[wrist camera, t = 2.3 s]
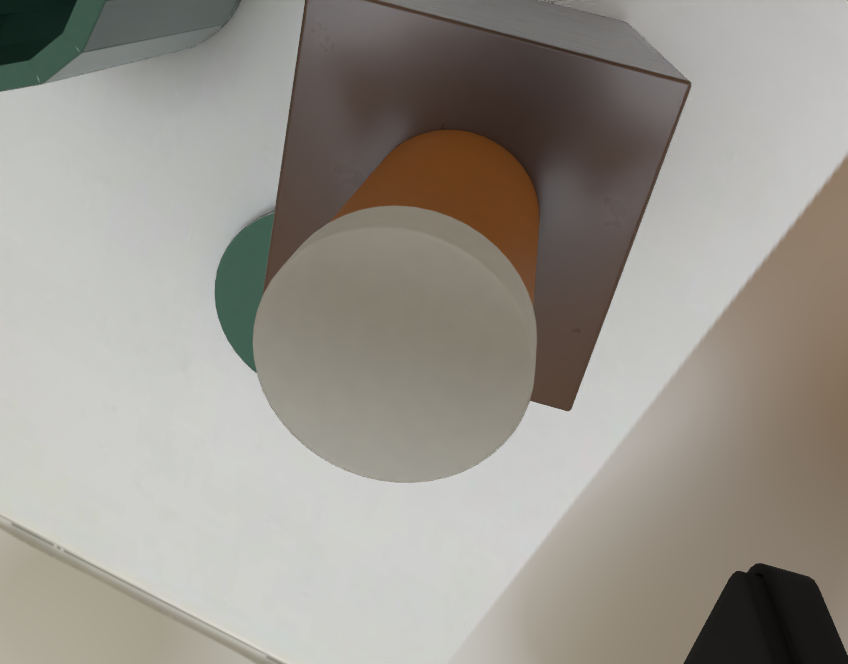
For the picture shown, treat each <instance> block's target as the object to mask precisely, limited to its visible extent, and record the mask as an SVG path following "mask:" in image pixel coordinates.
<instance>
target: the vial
mask: <svg viewBox="0 0 848 664" xmlns="http://www.w3.org/2000/svg"><path fill="white" fill-rule="evenodd" d="M539 221H540V218H539V205H538V200H537V195H536V192H535V189H534V186H533V184H532V182H531V180H530V178H529V176H528V174H527V173H526V171H525V170H524V168H523V167H522V165H521V164H520V163H519V162H518V161H517V159H516V158H515V157H514V156H513V155H512V154H511V153H509V152H508V151H507V150H506V149H505V148H503V147H502V146H500V145H499V144H497V143H496V142H494V141H492V140H490V139H488V138H486V137H484V136H481V135H478V134H475V133H472V132H467V131H462V130H437V131H432V132H427V133H423V134H421V135H418V136H415V137H413V138H411V139H409V140H407V141H405V142H403V143H402V144H401V145H399V146H398V147H396V148H395V149H394V150H393V151H392V152H391V153H389V154H388V155H387V156H386V157H385V159H384V160H383V161H382V162H381V163H380V164H379V165H378V167H377V168H376V169H375V170H374V171H373V172H372V174H371V175H370V176H369V177H368V178H367V179H366V180H365V182H364V183H363V184H362V185H361V186H360V187H359V188H358V190H357V191H356V192H355V193H354V194H353V195H352V197H351V198H350V199H349V200H348V201H347V202H346V203H345V205H344V206H343V207H342V208H341V209H340V210H339V212H338V213H337V214H336V215H335V216H334V217H333V218H332V220H331V221H330V222H329V223H328V224H326V225H325V226H323V227H322V228H320V229H319V230H317V231H316V232H315V233H313V234H312V235H311V236H310V237H309V238H308V239H307V240H306V241H305V242H304V243H303V244H302V245H301V246H300V247H299V248H298V249H297V250H296V252H295V253H294V254H293V255H292V256H291V257H290V258H289V259H288V260H287V262H286V263H285V264H284V265H283V266H282V267H281V268H280V270H279V271H278V272H277V274H276V275H275V276H274V277H273V279H272V280H271V282H270V283H269V285H268V287H267V289H266V290H265V292H264V294H263V296H262V299H261V302H260V304H259V307H258V309H257V314H256V318H255V323H254V331H253V352H254V361H255V366H256V371H257V376H258V378H259V381H260V384H261V387H262V390H263V392H264V394H265V396H266V398H267V400H268V402H269V404H270V406H271V407H272V409H273V410H274V412H275V413H276V415H277V416H278V418H279V420H280V421H281V422H282V423H283V424H284V425H285V427H286V428H287V429H288V430H289V431H290V433H291V434H292V435H294V436H295V437H296V438H297V439H298V440H299V441H300V442H301V443H302V444H303V445H304V446H306V447H307V448H308V449H310V450H311V451H312V452H314V453H315V454H316V455H318V456H320V457H321V458H323V459H325V460H326V461H328V462H330V463H331V464H333V465H335V466H338V467H340V468H342V469H344V470H346V471H349V472H352V473H354V474H357V475H360V476H363V477H368V478H372V479H376V480H381V481H389V482H406V483H415V482H425V481H432V480H437V479H441V478H446V477H449V476H452V475H455V474H458V473H461V472H463V471H465V470H467V469H469V468H471V467H473V466H475V465H477V464H479V463H480V462H482V461H483V460H485V459H486V458H488V457H489V456H491V455H492V454H493V453H494V452H495V451H496V450H497V449H499V448H500V447H501V446H502V445H503V444H504V443H505V442H506V441H507V439H508V438H509V437H510V436H511V435H512V434H513V432H514V431H515V429H516V428H517V426H518V425H519V423H520V421H521V420H522V418H523V416H524V414H525V411H526V409H527V407H528V404H529V402H530V398H531V394H532V390H533V386H534V377H535V365H536V347H537V330H536V320H535V315H534V309H533V304H534V290H535V276H536V262H537V249H538V235H539Z"/></svg>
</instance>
